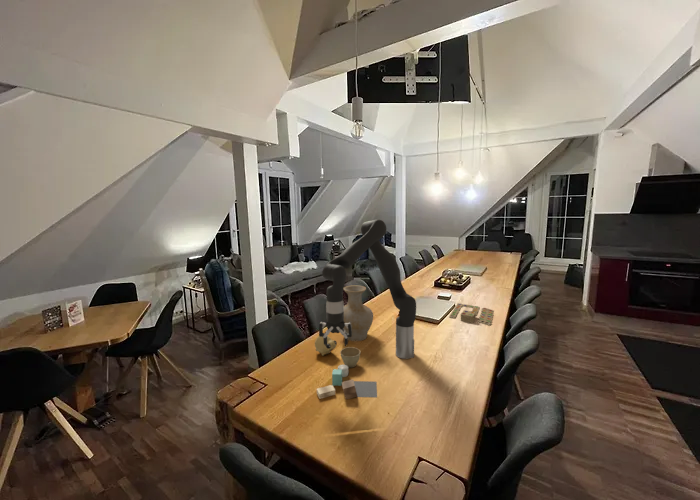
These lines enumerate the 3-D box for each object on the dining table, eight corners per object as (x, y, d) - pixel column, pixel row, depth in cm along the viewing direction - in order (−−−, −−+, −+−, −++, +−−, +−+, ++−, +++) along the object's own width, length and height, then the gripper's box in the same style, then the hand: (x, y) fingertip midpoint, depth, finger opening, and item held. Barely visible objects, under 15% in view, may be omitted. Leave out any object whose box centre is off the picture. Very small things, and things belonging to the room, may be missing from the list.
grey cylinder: (348, 372, 143) (348, 364, 142) (348, 378, 138) (348, 370, 137) (338, 372, 143) (338, 364, 142) (337, 378, 138) (337, 370, 137)
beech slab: (332, 391, 129) (332, 384, 129) (335, 396, 125) (335, 390, 125) (316, 395, 127) (316, 388, 126) (319, 400, 123) (319, 394, 122)
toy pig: (327, 361, 153) (326, 341, 152) (311, 353, 161) (310, 335, 159) (340, 353, 161) (339, 335, 159) (324, 346, 168) (324, 329, 167)
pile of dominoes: (491, 327, 192) (491, 319, 191) (447, 319, 205) (448, 312, 205) (495, 310, 222) (495, 302, 221) (457, 304, 235) (457, 297, 234)
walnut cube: (355, 389, 128) (353, 379, 127) (357, 396, 123) (354, 385, 122) (344, 392, 127) (341, 382, 127) (345, 400, 122) (342, 389, 122)
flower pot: (363, 361, 152) (362, 348, 151) (357, 372, 143) (356, 358, 142) (344, 358, 155) (344, 345, 154) (337, 368, 146) (337, 355, 145)
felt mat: (376, 382, 134) (376, 381, 134) (377, 398, 123) (377, 397, 123) (352, 382, 135) (352, 381, 135) (350, 398, 124) (350, 396, 124)
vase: (331, 340, 176) (330, 291, 171) (345, 326, 196) (344, 282, 191) (366, 346, 167) (366, 295, 163) (377, 331, 187) (377, 285, 183)
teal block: (342, 381, 135) (341, 369, 135) (341, 386, 132) (341, 374, 131) (333, 381, 136) (333, 369, 135) (332, 386, 132) (332, 374, 131)
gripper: (352, 307, 132) (352, 341, 134) (320, 306, 133) (321, 341, 135) (350, 313, 124) (351, 349, 127) (317, 312, 125) (318, 349, 128)
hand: (335, 345), depth 131 cm, fingers open, 8 cm apart
